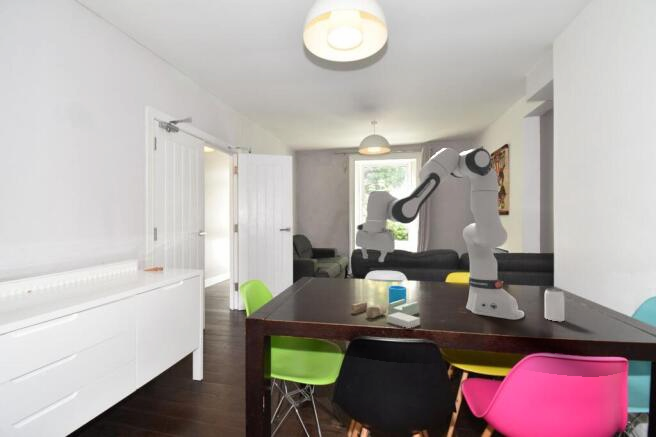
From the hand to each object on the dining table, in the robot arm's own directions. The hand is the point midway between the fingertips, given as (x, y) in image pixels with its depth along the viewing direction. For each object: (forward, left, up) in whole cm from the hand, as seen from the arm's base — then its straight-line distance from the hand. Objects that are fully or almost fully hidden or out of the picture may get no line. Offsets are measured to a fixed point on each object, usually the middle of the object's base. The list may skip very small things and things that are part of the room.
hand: (372, 259), depth 132 cm
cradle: (-9, -10, -23) cm, 27 cm away
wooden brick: (+6, +1, -23) cm, 24 cm away
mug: (+2, -22, -23) cm, 32 cm away
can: (-56, -47, -23) cm, 76 cm away
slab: (-16, +1, -23) cm, 28 cm away
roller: (-3, +1, -23) cm, 23 cm away
